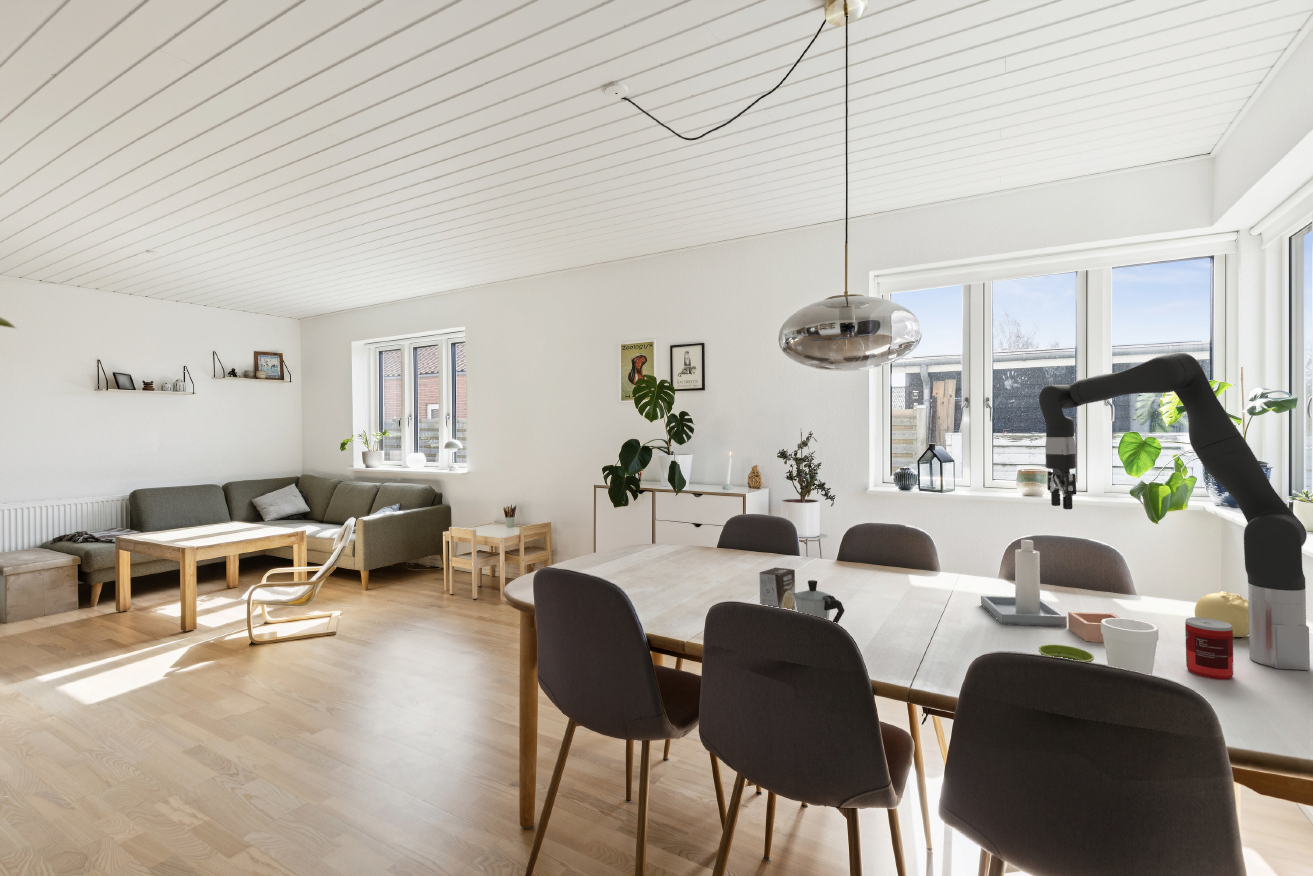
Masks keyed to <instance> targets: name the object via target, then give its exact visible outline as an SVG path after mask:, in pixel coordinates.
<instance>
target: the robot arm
mask: <svg viewBox="0 0 1313 876" xmlns="http://www.w3.org/2000/svg"><path fill="white" fill-rule="evenodd" d="M1173 392H1174V393H1175V395H1176V396H1177V397H1178V399H1179V401H1180V403H1182V405H1183V408H1184V409H1185V411H1186V415H1187V420H1188V421H1187V422H1188V423H1187V424H1188V438H1189V442H1190V446H1191V447H1192V449H1193V451H1194V453H1195V455H1196V456H1197V458H1198V459H1199V461H1200V463H1201V464H1202V466H1203V467H1204V468H1205V470H1206V471H1207V473H1208V474H1209V475H1211V477H1212V478H1213V479H1214V480H1215V482H1216V483H1218V484H1219V485H1220V486H1221V487H1222V488H1223V489H1224V490H1225V491H1226V492H1227V493H1228V494H1229V495H1230V496H1231V497H1232V498H1233V500H1234V501H1235V503H1236V504H1237V505H1238V507H1239V509H1240V512H1242V514H1243V516H1244V519H1245V520H1246V522H1247V524H1246V526H1245V529H1244V531H1243V550H1244V551H1243V553H1244V569H1245V572H1246V575H1247V590H1248V591H1247V595H1248V596H1247V598H1248V600H1247V601H1248V612H1249V635H1248V647H1249V648H1248V649H1249V655H1248V656H1249V659H1250V660H1251V661H1254V662H1255V663H1258V664H1261V665H1265V666H1268V667H1272V668H1274V669H1277V670H1278V669H1279V670H1295V671H1296V670H1297V671H1298V670H1299V671H1301V670H1302V671H1310V670H1311V657H1310V653H1311V652H1310V627H1309V626H1307V607H1306V606H1307V604H1306V603H1307V601H1306V597H1307V596H1306V595H1307V594H1306V593H1307V592H1306V591H1307V590H1306V587H1307V586H1306V576H1305V574H1304V570H1303V552H1302V551H1303V550H1302V549H1303V546H1304V545H1305V543H1306V541H1307V538H1308V537H1307V535H1308V534H1307V530H1306V528H1305V526H1304V524H1303V522H1301V520H1300V519H1299V518H1298V517H1297V516H1296V515H1295V514H1294V513H1293V512H1292V510H1291V509H1290V508H1289V506H1288V505H1287V503H1285V501H1284V500H1283V499H1282V498H1281V497H1280V495H1279V494H1278V492H1276V491H1275V489H1274V488H1273V486H1272V484H1271V483H1270V480H1269V479H1268V477H1267V474H1266V473H1265V471H1264V468H1263V467H1262V465H1261V464H1260V462H1259V461H1258V459H1257V457H1256V455H1255V454H1254V452H1253V450H1252V448H1250V446H1249V444H1248V443H1247V441H1246V439H1245V438H1244V437H1243V435H1242V434H1241V432H1240V431H1239V429H1238V427H1236V425H1235V423H1233V421H1232V419H1231V418H1230V416H1229V415H1228V412H1227V411H1226V410H1225V407H1224V406H1223V405H1222V403H1221V401H1220V400H1219V399H1218V397H1217V395H1216V393H1215V392H1214V389H1213V387H1212V385H1211V384H1210V381H1209V380H1208V378H1207V375H1206V374H1205V372H1204V369H1203V367H1202V366H1201V364H1200V363H1199V362H1198V360H1197V359H1196V358H1195V357H1193V355H1191V354H1188V353H1186V352H1181V351H1180V352H1179V351H1178V352H1173V353H1168V354H1163V355H1159V356H1155V357H1153V358H1151V359H1149V360H1147V361H1144V362H1142V363H1139V364H1137V365H1135V366H1133V367H1130V368H1127V369H1125V370H1121V371H1117V372H1113V373H1104V374H1099V375H1094V376H1093V375H1092V376H1089V377H1086V378H1082V379H1079V380H1076V381H1075V382H1073V383H1071V384H1070V383H1069V384H1049V385H1045V386H1044V387H1043V388H1042V389H1041V390H1040V392H1039V395H1038V403H1039V407H1040V411H1041V413H1042V416H1043V420H1044V422H1045V436H1046V437H1045V446H1044V447H1045V468H1046V469H1049V470H1048V471H1047V472H1046V473H1047V480H1046V481H1047V491H1049V493H1050V499H1051V500H1050V501H1051V506H1052V507H1059V506H1061V495H1062V509H1064V510H1073V508H1074V507H1073V497H1074V496H1075V495H1077V480H1076V479H1077V477H1076V473H1071V471H1070V470H1074V469H1076V467H1077V453H1076V439H1075V422H1074V419H1073V418H1072V417H1069V416H1066V415H1065V414H1064V412H1063V410H1065V409H1073V408H1077V407H1081V406H1083V405H1085V404H1092V403H1096V402H1097V403H1099V402H1102V401H1107V400H1110V399H1111V400H1112V399H1114V398H1118V397H1121V396H1126V395H1133V394H1135V395H1137V394H1160V393H1161V394H1166V393H1167V394H1168V393H1173ZM1061 493H1062V494H1061Z"/></svg>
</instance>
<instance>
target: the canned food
mask: <svg viewBox="0 0 1313 876" xmlns="http://www.w3.org/2000/svg"><path fill="white" fill-rule="evenodd" d="M1184 623H1185V625H1184V626H1185V627H1184V628H1185V630H1184V631H1185V659H1186V660H1185V661H1186V665H1185V666H1186V668H1187V670H1188V671H1189V672H1190V673H1192V674H1193V675H1196V676H1199V677H1202V678H1206V679H1211V680H1222V681H1226V680H1227V681H1228V680H1231V679H1232V678H1233V677H1234V637H1233V628H1232V625H1231V624H1229V623H1226V622H1223V621H1220V620H1215V619H1209V618H1198V617H1195V616H1194V617H1187V618H1186V619H1185V622H1184Z"/></svg>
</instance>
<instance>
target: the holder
mask: <svg viewBox="0 0 1313 876" xmlns="http://www.w3.org/2000/svg"><path fill="white" fill-rule="evenodd" d="M1067 616H1068V621H1067V623H1068V624H1067V627H1068V630H1069V629H1070V630H1069V631H1071V632H1072V631H1073V632H1072V633H1073V634H1075V633H1076V634H1077V635H1076V634H1075V635H1076V636H1078V637H1079V636H1080V637H1079V638H1081V639H1082V640H1083V639H1084V640H1083V641H1085V642H1086V641H1091V643H1104V640H1103V634H1102V633H1101V621H1102V620H1103V619H1107V618H1121V616H1118V615H1116V614H1114V613H1113V612H1112V613H1111V612H1109V613H1107V612H1106V613H1105V612H1082V611H1081V612H1080V611H1079V612H1077V611H1076V612H1075V611H1068V614H1067Z"/></svg>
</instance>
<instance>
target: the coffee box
mask: <svg viewBox="0 0 1313 876" xmlns="http://www.w3.org/2000/svg"><path fill="white" fill-rule="evenodd" d="M795 571H796V570H795V569H792V568H786V567H782V568H781V567H774V568H770V569H766V570H763V571H760V572H759V605H760V604H762V605H768V606H773V607H779V608H787V609H792V610H795V611H796V601H795V597H794V595H793V594H792V593H796V572H795Z"/></svg>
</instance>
